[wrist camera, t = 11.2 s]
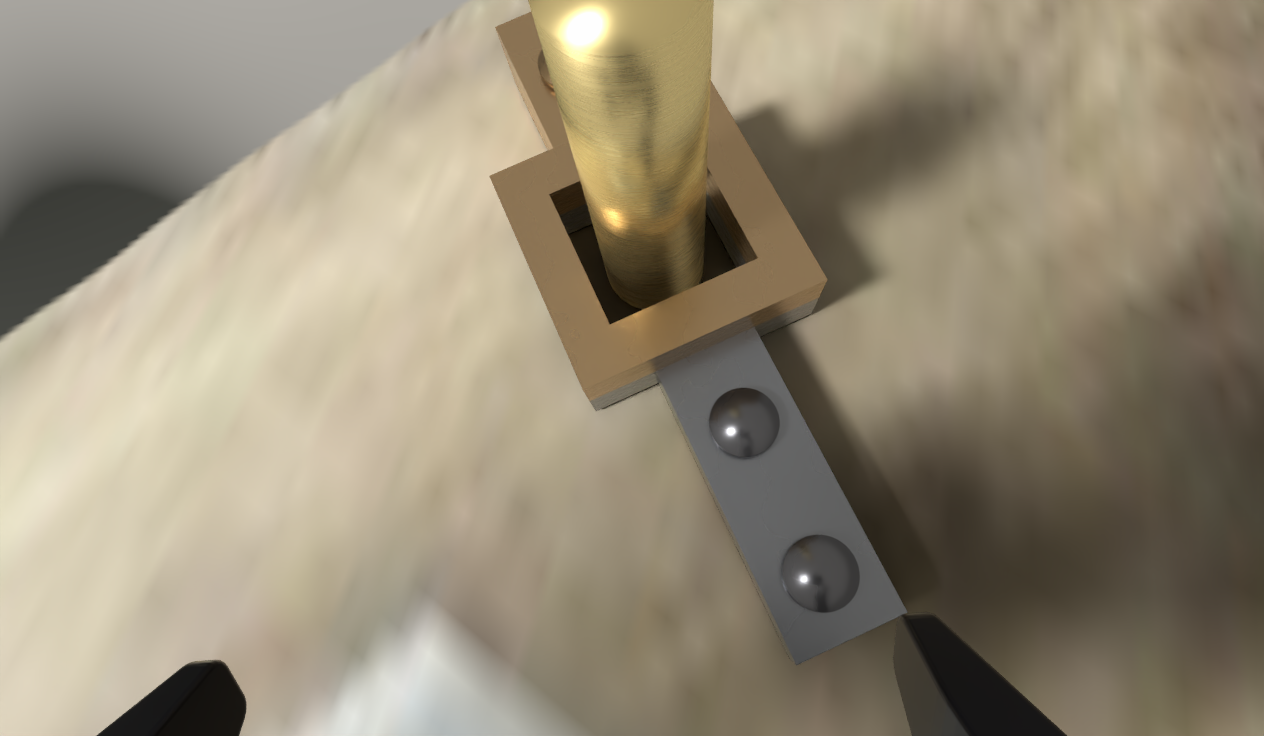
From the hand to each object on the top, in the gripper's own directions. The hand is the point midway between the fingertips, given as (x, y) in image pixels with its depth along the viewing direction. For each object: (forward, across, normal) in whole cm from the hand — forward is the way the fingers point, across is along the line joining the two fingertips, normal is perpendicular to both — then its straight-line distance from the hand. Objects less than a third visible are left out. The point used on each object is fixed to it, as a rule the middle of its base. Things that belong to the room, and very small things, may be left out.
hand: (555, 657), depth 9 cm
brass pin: (+18, -2, +1) cm, 18 cm away
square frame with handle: (+17, -2, +3) cm, 17 cm away
